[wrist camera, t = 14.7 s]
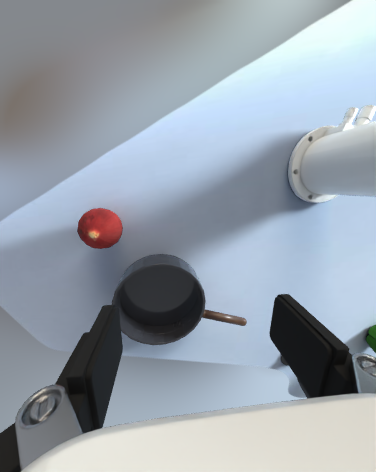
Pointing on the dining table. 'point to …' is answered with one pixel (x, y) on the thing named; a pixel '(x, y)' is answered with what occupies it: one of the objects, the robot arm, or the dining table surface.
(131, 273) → the pan
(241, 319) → the pan handle
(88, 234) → the onion
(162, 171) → the dining table surface
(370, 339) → the bell pepper
